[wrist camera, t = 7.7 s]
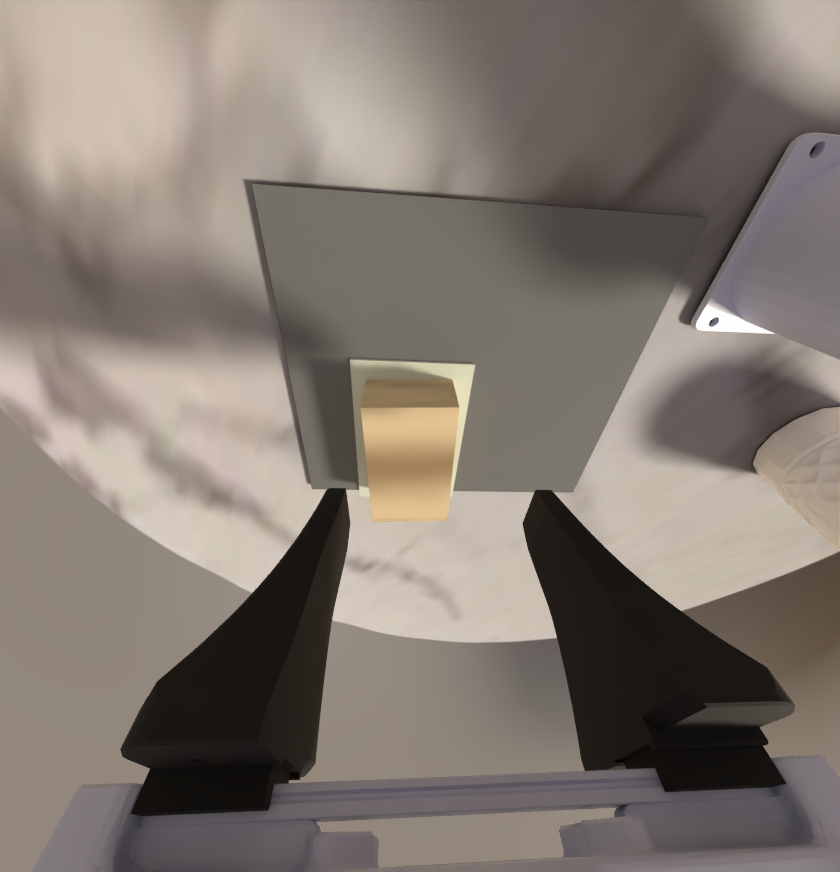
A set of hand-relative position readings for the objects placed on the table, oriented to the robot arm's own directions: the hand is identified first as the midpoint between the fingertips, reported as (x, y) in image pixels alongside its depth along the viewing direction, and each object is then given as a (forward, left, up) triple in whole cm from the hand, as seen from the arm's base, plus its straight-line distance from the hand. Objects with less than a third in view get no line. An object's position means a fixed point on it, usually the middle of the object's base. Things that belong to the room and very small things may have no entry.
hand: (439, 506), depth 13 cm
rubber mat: (-2, 0, -9) cm, 10 cm away
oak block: (+1, +4, -9) cm, 10 cm away
